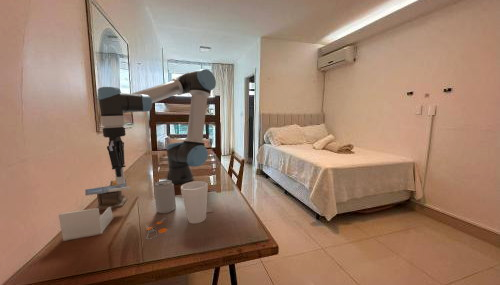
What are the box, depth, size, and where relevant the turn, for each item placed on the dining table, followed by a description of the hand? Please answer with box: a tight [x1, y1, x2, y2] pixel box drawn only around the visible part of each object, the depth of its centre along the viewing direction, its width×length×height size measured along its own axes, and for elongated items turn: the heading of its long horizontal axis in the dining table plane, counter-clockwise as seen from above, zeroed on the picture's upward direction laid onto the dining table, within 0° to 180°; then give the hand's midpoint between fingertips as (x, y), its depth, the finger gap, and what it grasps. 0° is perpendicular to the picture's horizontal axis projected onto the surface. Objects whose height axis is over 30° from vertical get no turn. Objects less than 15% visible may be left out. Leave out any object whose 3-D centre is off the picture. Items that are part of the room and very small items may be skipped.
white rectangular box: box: [58, 207, 114, 242], centre depth 72 cm, size 12×11×9 cm
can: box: [153, 179, 177, 215], centre depth 84 cm, size 8×8×12 cm
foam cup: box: [180, 180, 209, 224], centre depth 75 cm, size 10×9×13 cm
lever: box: [84, 179, 132, 196], centre depth 93 cm, size 28×13×4 cm, turn 16°
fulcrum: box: [94, 186, 128, 211], centre depth 92 cm, size 8×11×8 cm
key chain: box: [145, 217, 168, 240], centre depth 71 cm, size 13×7×1 cm, turn 22°
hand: (121, 183), depth 85 cm, fingers closed
